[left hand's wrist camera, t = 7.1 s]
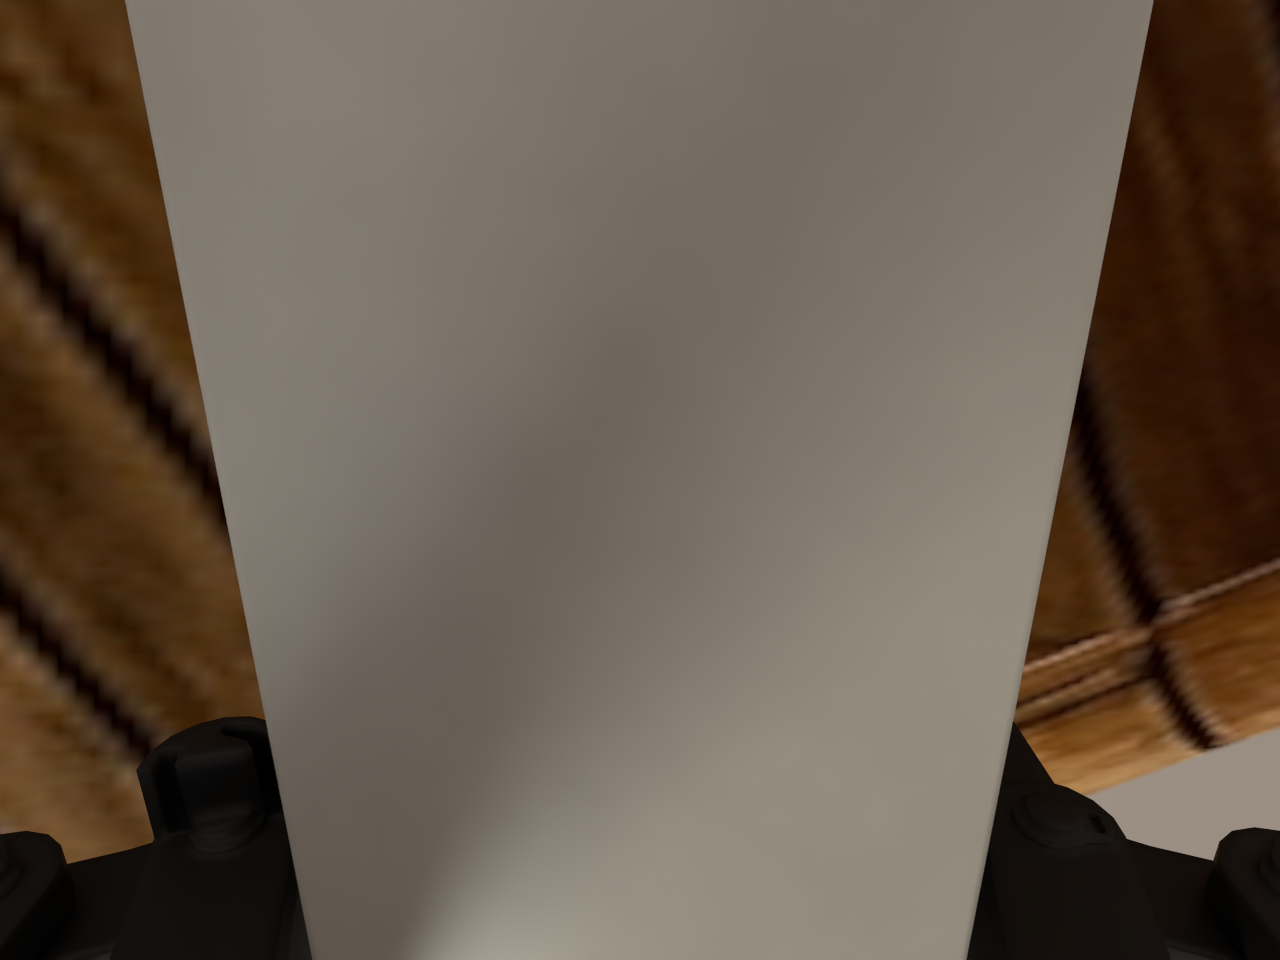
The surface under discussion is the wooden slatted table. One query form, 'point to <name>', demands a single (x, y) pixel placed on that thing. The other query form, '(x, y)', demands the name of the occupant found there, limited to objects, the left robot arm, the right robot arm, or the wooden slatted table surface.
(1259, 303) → the wooden slatted table surface
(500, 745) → the bar
